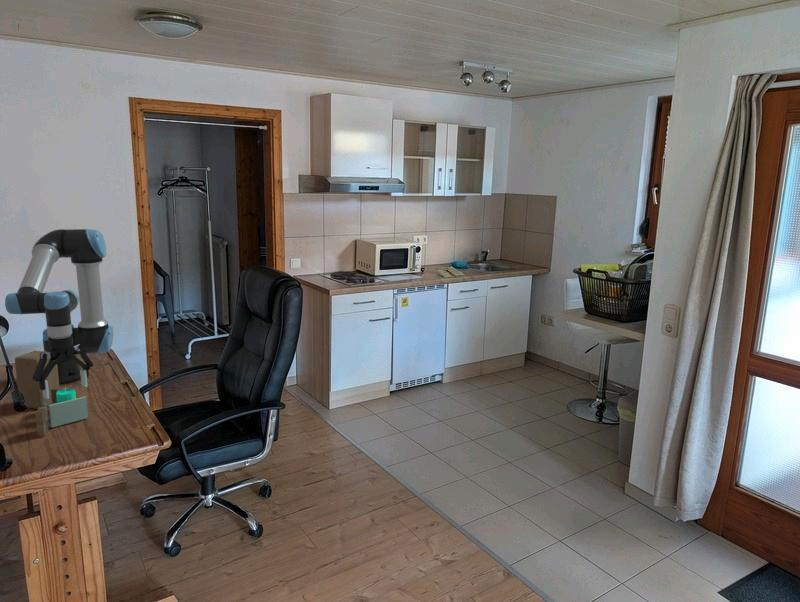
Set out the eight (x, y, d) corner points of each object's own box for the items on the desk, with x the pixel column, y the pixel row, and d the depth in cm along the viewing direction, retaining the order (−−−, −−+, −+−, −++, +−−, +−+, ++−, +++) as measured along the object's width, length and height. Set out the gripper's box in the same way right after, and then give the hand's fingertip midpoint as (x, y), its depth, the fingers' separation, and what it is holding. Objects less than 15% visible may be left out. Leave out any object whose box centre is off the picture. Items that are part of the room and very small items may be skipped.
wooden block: (41, 410, 215) (36, 359, 211) (18, 407, 217) (13, 357, 213) (61, 400, 225) (57, 351, 221) (40, 398, 227) (34, 349, 223)
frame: (56, 409, 217) (54, 385, 215) (62, 408, 217) (60, 385, 215) (37, 437, 194) (35, 411, 192) (44, 436, 194) (41, 410, 192)
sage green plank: (51, 427, 200) (49, 406, 198) (50, 426, 201) (48, 405, 199) (88, 417, 209) (86, 397, 207) (87, 416, 210) (85, 396, 208)
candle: (63, 415, 212) (60, 384, 209) (80, 415, 212) (77, 384, 210) (55, 422, 206) (52, 390, 203) (73, 421, 206) (70, 390, 204)
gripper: (88, 326, 215) (93, 379, 220) (16, 341, 194) (23, 400, 199) (100, 330, 211) (105, 384, 216) (27, 346, 190) (34, 405, 195)
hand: (66, 392), depth 207 cm, fingers open, 13 cm apart
